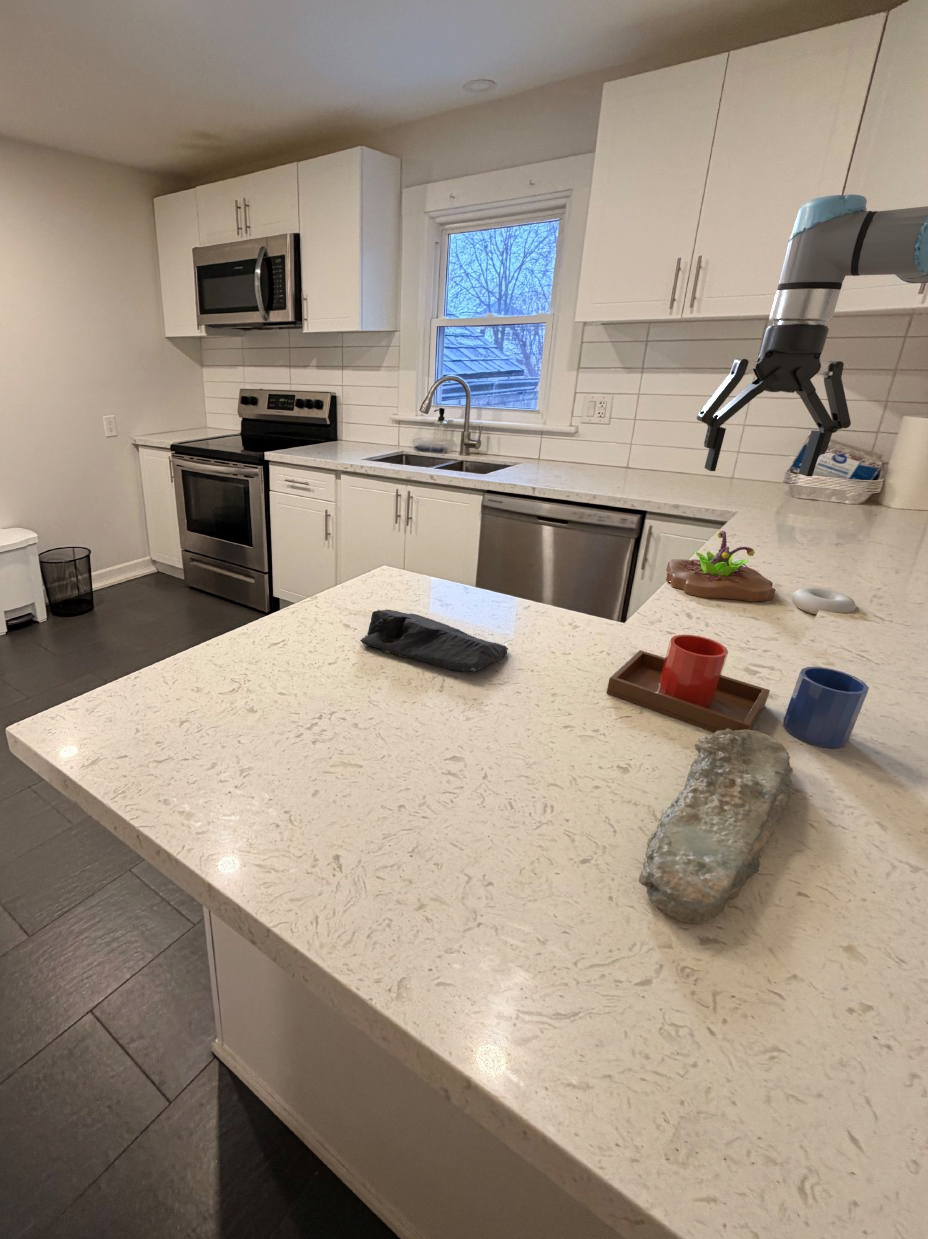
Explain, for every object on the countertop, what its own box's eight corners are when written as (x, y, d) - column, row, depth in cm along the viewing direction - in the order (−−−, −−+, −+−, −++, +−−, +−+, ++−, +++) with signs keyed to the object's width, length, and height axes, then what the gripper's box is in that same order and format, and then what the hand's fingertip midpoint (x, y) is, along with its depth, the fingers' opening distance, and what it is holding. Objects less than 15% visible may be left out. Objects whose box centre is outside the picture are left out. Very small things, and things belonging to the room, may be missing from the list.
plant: (749, 573, 143) (763, 525, 139) (785, 605, 126) (803, 551, 121) (653, 565, 147) (664, 517, 143) (675, 595, 130) (688, 542, 125)
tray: (764, 705, 90) (770, 689, 89) (744, 742, 82) (749, 725, 81) (636, 664, 101) (639, 649, 100) (606, 693, 93) (609, 677, 92)
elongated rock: (604, 897, 60) (721, 967, 54) (617, 857, 58) (741, 926, 52) (711, 730, 83) (801, 766, 77) (723, 697, 81) (817, 731, 75)
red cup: (718, 695, 92) (733, 645, 88) (705, 714, 87) (720, 662, 84) (666, 678, 96) (679, 630, 93) (651, 695, 91) (663, 645, 88)
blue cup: (850, 732, 84) (871, 679, 81) (843, 755, 80) (865, 699, 77) (787, 712, 89) (805, 661, 86) (777, 733, 84) (796, 679, 81)
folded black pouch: (470, 688, 93) (474, 659, 91) (351, 643, 106) (352, 617, 104) (515, 652, 104) (519, 626, 102) (402, 616, 117) (404, 592, 115)
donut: (785, 610, 124) (849, 624, 118) (790, 594, 123) (855, 607, 116) (794, 597, 131) (855, 609, 124) (799, 581, 129) (861, 593, 123)
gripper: (881, 326, 93) (834, 472, 101) (696, 323, 97) (664, 463, 106) (914, 324, 86) (860, 481, 94) (712, 321, 91) (678, 471, 99)
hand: (756, 472), depth 100 cm, fingers open, 13 cm apart
